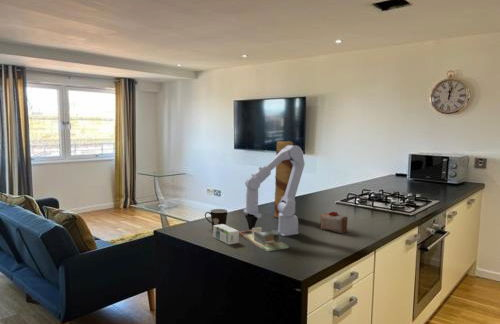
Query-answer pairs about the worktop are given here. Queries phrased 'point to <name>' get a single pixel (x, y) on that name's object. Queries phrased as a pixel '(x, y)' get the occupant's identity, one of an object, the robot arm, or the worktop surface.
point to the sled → (267, 239)
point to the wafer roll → (281, 176)
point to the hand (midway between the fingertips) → (251, 229)
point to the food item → (334, 222)
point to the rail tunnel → (260, 239)
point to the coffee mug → (217, 216)
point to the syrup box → (226, 234)
